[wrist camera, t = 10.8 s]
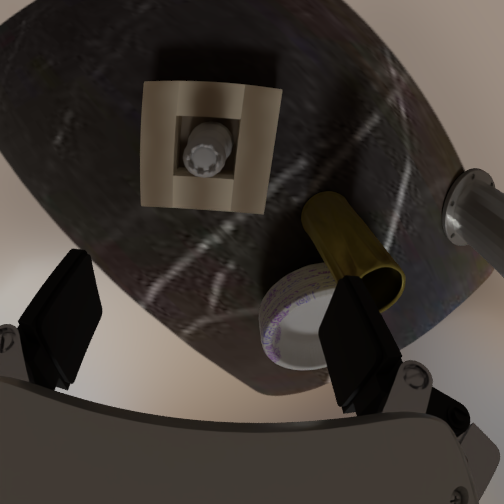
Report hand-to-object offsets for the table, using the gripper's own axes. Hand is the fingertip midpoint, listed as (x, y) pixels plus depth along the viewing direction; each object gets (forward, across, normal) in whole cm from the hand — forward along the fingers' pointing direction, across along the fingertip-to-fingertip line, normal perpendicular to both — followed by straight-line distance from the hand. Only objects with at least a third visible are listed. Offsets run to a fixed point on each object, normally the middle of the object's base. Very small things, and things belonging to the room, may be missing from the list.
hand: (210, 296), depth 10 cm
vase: (+22, -12, +5) cm, 25 cm away
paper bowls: (+22, -13, +17) cm, 30 cm away
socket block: (+21, +2, -2) cm, 21 cm away
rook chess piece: (+20, +2, -2) cm, 20 cm away
